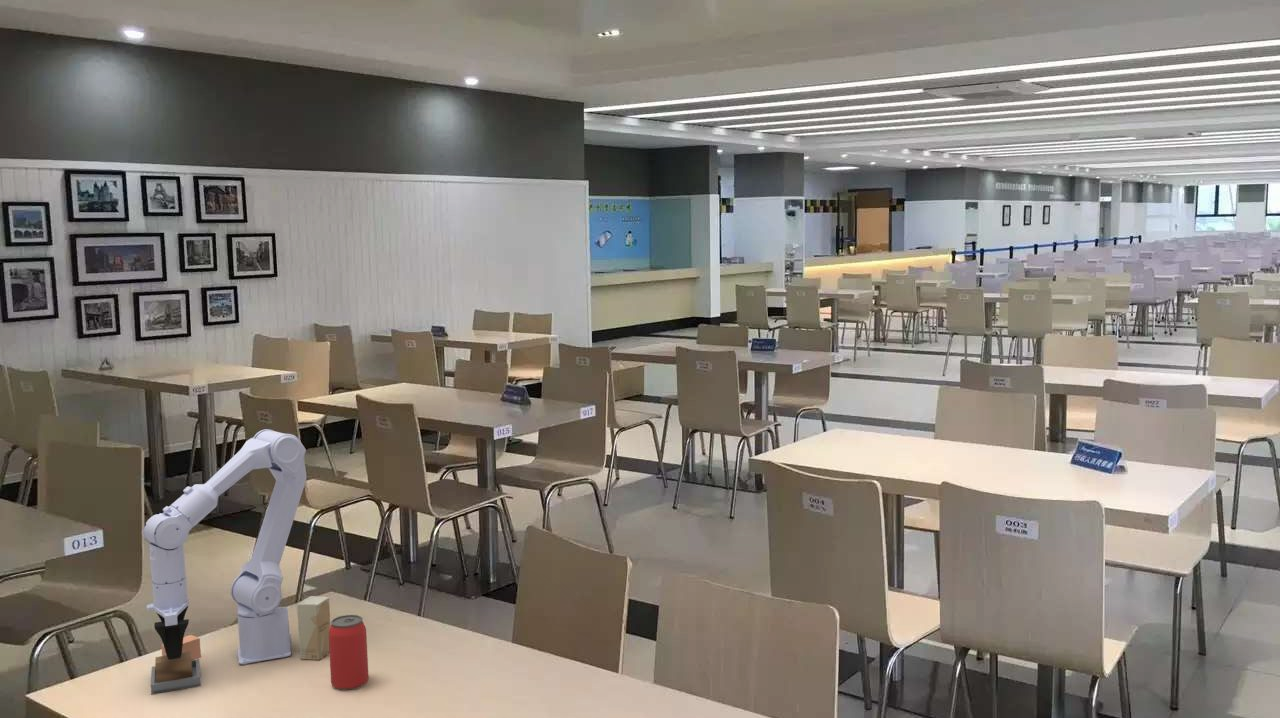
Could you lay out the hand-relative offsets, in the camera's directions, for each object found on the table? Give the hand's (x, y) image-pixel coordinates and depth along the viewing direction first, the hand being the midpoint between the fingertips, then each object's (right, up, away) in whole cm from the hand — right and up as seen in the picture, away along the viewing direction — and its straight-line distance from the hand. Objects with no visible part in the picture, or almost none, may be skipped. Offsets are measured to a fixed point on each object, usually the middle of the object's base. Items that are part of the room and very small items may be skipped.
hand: (174, 650), depth 191 cm
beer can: (+33, -6, -2) cm, 34 cm away
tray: (0, -6, +1) cm, 6 cm away
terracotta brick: (-3, -5, +10) cm, 12 cm away
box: (+22, -4, +12) cm, 26 cm away
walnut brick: (0, -5, 0) cm, 5 cm away
